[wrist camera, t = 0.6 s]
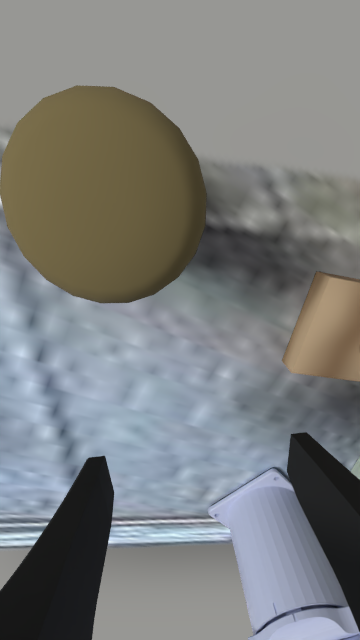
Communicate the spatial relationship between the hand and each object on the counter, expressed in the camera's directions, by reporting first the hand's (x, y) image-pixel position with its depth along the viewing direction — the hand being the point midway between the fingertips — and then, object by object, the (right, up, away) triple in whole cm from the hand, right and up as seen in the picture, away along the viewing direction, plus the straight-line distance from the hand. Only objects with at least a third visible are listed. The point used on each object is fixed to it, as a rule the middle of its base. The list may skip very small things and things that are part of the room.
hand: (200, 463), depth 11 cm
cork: (-3, +12, +6) cm, 14 cm away
